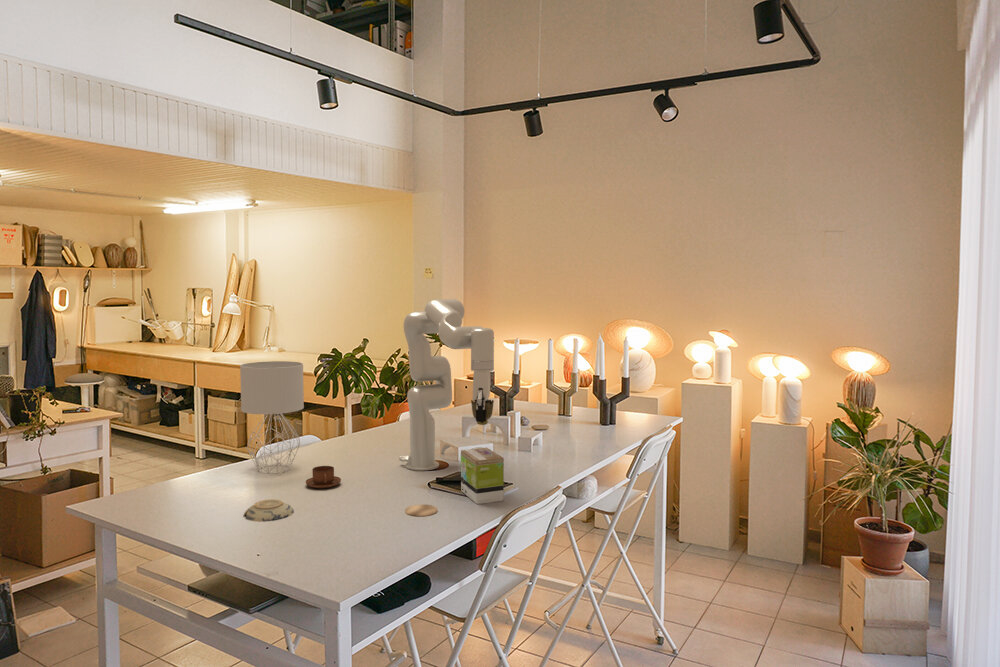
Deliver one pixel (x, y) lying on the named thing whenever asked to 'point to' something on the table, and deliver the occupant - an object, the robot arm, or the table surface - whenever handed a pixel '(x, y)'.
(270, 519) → the decorative bowl
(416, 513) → the cork coaster
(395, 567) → the table surface
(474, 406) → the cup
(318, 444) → the table surface
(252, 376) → the table lamp
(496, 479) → the tea box
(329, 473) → the cup and saucer
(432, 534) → the table surface
